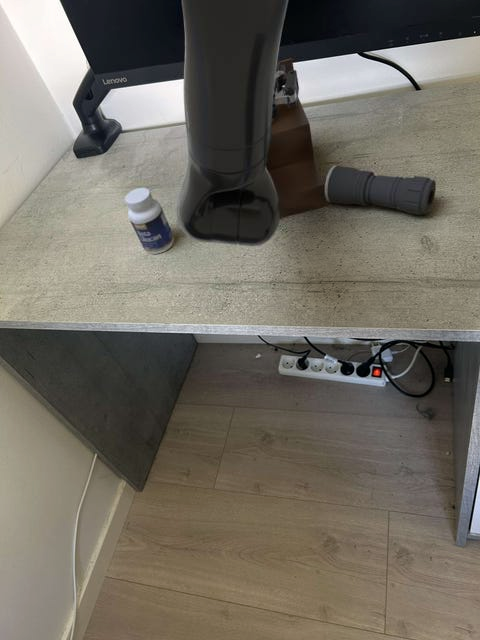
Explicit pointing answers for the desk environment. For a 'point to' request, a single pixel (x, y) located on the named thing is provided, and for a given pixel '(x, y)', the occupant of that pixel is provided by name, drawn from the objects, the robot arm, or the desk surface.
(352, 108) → the desk surface
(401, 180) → the flashlight
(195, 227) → the robot arm
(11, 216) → the desk surface
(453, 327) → the desk surface
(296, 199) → the wooden stair steps
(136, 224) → the pill bottle
